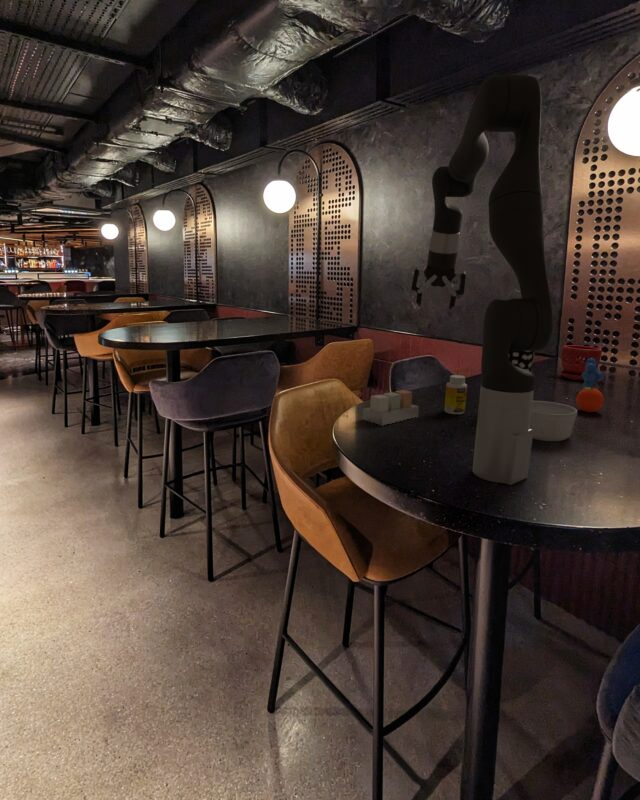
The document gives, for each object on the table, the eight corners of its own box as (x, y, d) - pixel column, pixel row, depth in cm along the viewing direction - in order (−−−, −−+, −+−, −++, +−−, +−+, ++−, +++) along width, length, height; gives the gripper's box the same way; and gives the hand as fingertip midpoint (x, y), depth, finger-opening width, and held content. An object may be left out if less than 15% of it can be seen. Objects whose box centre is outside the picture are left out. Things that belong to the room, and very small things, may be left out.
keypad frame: (418, 417, 135) (418, 406, 134) (382, 426, 126) (382, 414, 125) (398, 411, 140) (398, 400, 139) (362, 419, 131) (362, 408, 130)
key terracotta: (411, 406, 135) (412, 392, 134) (403, 408, 133) (404, 393, 132) (402, 404, 137) (403, 389, 136) (394, 405, 135) (395, 391, 134)
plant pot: (596, 383, 181) (601, 350, 178) (556, 379, 188) (560, 347, 185) (598, 377, 192) (603, 346, 189) (560, 373, 199) (565, 343, 196)
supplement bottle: (455, 416, 136) (458, 379, 134) (439, 411, 141) (442, 375, 138) (469, 413, 139) (472, 377, 137) (453, 408, 144) (456, 373, 141)
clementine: (565, 409, 146) (569, 385, 144) (581, 406, 149) (585, 383, 147) (591, 416, 139) (595, 391, 137) (607, 413, 142) (611, 388, 140)
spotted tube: (493, 412, 140) (500, 341, 135) (497, 406, 148) (505, 337, 143) (524, 417, 137) (534, 343, 132) (528, 410, 144) (537, 340, 139)
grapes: (601, 398, 159) (607, 361, 156) (577, 395, 162) (583, 359, 159) (601, 391, 169) (607, 356, 166) (579, 389, 172) (584, 354, 169)
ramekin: (502, 429, 126) (505, 402, 124) (543, 424, 130) (547, 398, 129) (542, 446, 114) (546, 416, 112) (586, 440, 118) (590, 412, 117)
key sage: (399, 409, 132) (400, 394, 131) (391, 411, 130) (392, 396, 129) (390, 406, 135) (391, 392, 134) (382, 408, 133) (383, 393, 132)
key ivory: (387, 412, 129) (388, 397, 128) (379, 414, 127) (379, 398, 126) (378, 409, 132) (379, 394, 131) (370, 411, 130) (370, 396, 129)
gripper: (415, 249, 132) (408, 308, 140) (471, 254, 130) (460, 313, 138) (417, 243, 138) (410, 299, 147) (470, 247, 136) (460, 304, 144)
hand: (434, 306), depth 142 cm, fingers open, 8 cm apart
